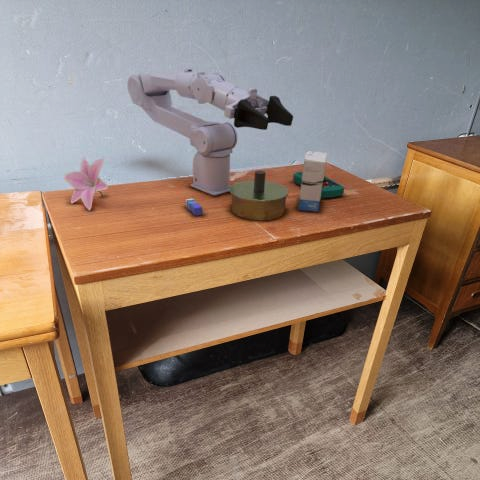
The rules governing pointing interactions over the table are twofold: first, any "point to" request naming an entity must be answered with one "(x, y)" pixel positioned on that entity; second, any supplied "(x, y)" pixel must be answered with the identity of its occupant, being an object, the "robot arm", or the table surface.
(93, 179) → the lily
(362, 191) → the table surface
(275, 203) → the pan
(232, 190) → the pan lid
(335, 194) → the digital multimeter
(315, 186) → the ink box
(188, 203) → the eraser
